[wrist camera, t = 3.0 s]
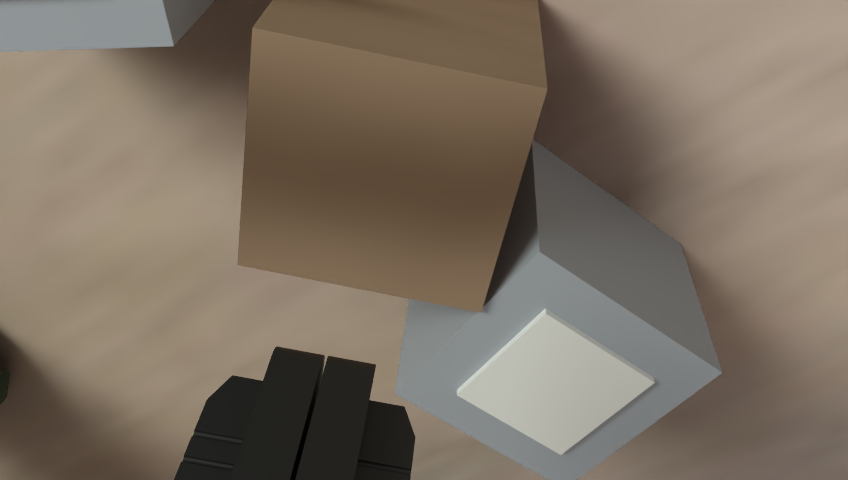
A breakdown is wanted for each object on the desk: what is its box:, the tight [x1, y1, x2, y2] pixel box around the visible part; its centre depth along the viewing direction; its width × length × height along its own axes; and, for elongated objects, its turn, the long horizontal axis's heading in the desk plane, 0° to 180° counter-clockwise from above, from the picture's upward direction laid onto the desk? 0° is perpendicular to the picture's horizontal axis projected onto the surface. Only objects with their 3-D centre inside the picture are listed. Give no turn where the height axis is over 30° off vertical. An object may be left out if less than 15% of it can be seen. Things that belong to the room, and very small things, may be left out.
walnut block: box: [238, 0, 548, 313], centre depth 20 cm, size 6×6×6 cm
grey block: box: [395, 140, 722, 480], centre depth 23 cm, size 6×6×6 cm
